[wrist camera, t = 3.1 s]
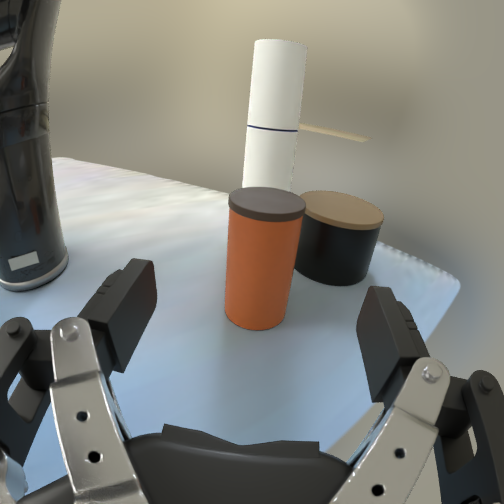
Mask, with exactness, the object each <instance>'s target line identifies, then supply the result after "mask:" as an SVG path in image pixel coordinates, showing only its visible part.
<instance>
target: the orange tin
mask: <svg viewBox="0 0 504 504" xmlns="http://www.w3.org/2000/svg"><path fill="white" fill-rule="evenodd" d="M228 204H229V207H230V209H229V226H228V245H227V266H226V288H225V313H226V315H227V317H228V318H229V319H230V320H231V321H232V322H233V323H234V324H236V325H238V326H240V327H242V328H245V329H250V330H266V329H270V328H273V327H275V326H276V325H278V324H279V323H280V322H281V321H282V320H283V318H284V316H285V312H286V307H287V302H288V297H289V291H290V286H291V281H292V276H293V270H294V265H295V259H296V254H297V248H298V242H299V237H300V231H301V225H302V219H303V215H304V214H305V210H306V203H305V201H304V200H303V199H302V198H301V197H300V196H298V195H296V194H293V193H291V192H288V191H285V190H281V189H277V188H270V187H246V188H241V189H238V190H235V191H233V192H232V193H230V195H229V201H228Z"/></svg>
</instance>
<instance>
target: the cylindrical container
mask: <svg viewBox="0 0 504 504" xmlns="http://www.w3.org/2000/svg"><path fill="white" fill-rule="evenodd" d="M306 56H307V46H305V45H303V44H301V43H297V42H292V41H287V40H278V39H261V40H257V41H255V48H254V57H253V68H252V79H251V90H250V102H249V112H248V124H249V125H247V136H246V149H245V160H244V173H243V186H242V188H246V187H270V188H277V189H281V190H285V191H288V192H290V190H291V183H292V176H293V168H294V160H295V153H296V144H297V137H298V128H299V120H300V112H301V111H300V110H301V103H302V94H303V85H304V75H305V66H306Z"/></svg>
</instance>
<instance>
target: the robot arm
mask: <svg viewBox="0 0 504 504" xmlns="http://www.w3.org/2000/svg"><path fill="white" fill-rule="evenodd" d="M60 4H61V0H0V51H1V50H4V49H7V48H11V47H14V48H13V50H12V53H11V54H10V56H9V58H8V59H7V60H6V61H5V62H4V64H3V65H2V66H1V67H0V285H1V286H2V287H4V288H5V289H8V290H12V291H24V290H29V289H33V288H36V287H39V286H41V285H43V284H45V283H47V282H49V281H51V280H52V279H54V278H55V277H56V276H57V275H59V274H60V273H61V272H62V271H63V269H64V268H65V267H66V265H67V262H68V253H67V249H66V246H65V243H64V238H63V234H62V229H61V223H60V217H59V211H58V206H57V199H56V192H55V185H54V177H53V169H52V159H51V147H50V132H49V103H47V102H49V80H50V68H51V56H52V46H53V40H54V33H55V28H56V23H57V18H58V14H59V9H60ZM156 304H157V289H156V281H155V272H154V264H153V262H152V261H150V260H143V259H135V258H133V259H131V260H130V262H129V263H128V264H127V265H126V267H125V268H124V269H123V270H120V269H119V270H117V271H116V272H114V273H112V274H111V275H109V276H108V277H107V278H106V280H105V281H104V282H103V283H102V286H100V287H99V289H98V290H97V291H96V293H95V294H94V295H93V296H92V298H91V299H90V300H89V301H88V303H87V304H86V305H85V307H84V308H83V309H82V311H81V312H80V313H79V315H78V316H77V317H70V318H66V319H63V320H61V321H59V322H58V323H57V324H56V325H55V326H54V327H53V328H52V330H34V329H33V327H32V325H31V323H30V321H29V320H28V319H27V318H24V317H16V318H12V319H10V320H8V321H7V322H5V323H4V324H3V325H2V327H1V328H0V504H404V503H405V502H406V500H407V498H408V496H409V495H410V493H411V491H412V489H413V487H414V485H415V483H416V481H417V479H418V478H419V475H420V473H421V471H422V469H423V467H424V465H425V463H426V461H427V458H428V456H429V454H430V452H431V450H432V447H434V453H435V458H436V464H437V470H438V477H439V485H440V493H441V502H442V504H504V395H503V392H502V390H501V387H500V385H499V383H498V381H497V380H496V378H495V377H494V376H493V375H492V374H490V373H489V372H487V371H483V370H477V371H475V372H474V373H473V374H472V375H471V376H470V378H469V379H468V380H466V379H461V378H457V377H452V376H450V374H449V371H448V369H447V368H446V367H445V365H444V364H443V363H441V362H440V361H438V360H437V359H434V358H431V357H430V355H429V353H428V351H427V348H426V346H425V344H424V341H423V339H422V337H421V335H420V332H419V330H417V329H418V328H417V326H416V324H415V322H414V319H413V317H412V315H411V313H410V311H409V310H408V309H407V308H406V306H405V305H404V304H403V303H402V302H401V301H396V298H395V296H394V294H393V292H392V290H391V288H389V287H379V286H370V287H369V289H368V291H367V294H366V297H365V299H364V302H363V305H362V308H361V311H360V313H359V316H358V319H357V325H356V332H357V337H358V341H359V345H360V349H361V353H362V358H363V362H364V367H365V371H366V376H367V380H368V385H369V390H370V395H371V400H372V403H374V402H383V403H384V407H385V408H384V409H383V410H382V412H381V413H380V415H379V417H378V418H377V420H376V421H375V423H374V425H373V426H372V428H371V429H370V431H369V432H368V434H367V435H366V437H365V438H364V440H363V441H362V443H361V444H360V446H359V447H358V449H357V450H356V451H355V452H354V454H353V455H352V456H351V457H350V459H349V460H348V461H347V462H344V461H342V460H341V459H339V458H337V457H335V456H333V455H330V454H327V453H324V452H320V451H319V442H311V441H284V440H281V441H274V442H267V443H260V444H252V445H237V444H234V443H231V442H228V441H225V440H223V439H220V438H217V437H215V436H212V435H210V434H207V433H205V432H202V431H198V430H193V429H187V428H182V427H177V426H173V425H168V424H164V426H163V430H162V433H151V434H145V435H140V436H137V437H134V438H132V436H131V434H130V432H129V430H128V428H127V425H126V423H125V421H124V418H123V415H122V413H121V410H120V407H119V405H118V402H117V399H116V396H115V393H114V390H113V387H112V384H111V381H110V379H109V377H110V375H111V373H112V371H117V372H120V373H124V371H125V369H126V367H127V365H128V363H129V361H130V359H131V357H132V354H133V352H134V350H135V348H136V346H137V344H138V342H139V340H140V338H141V336H142V334H143V332H144V330H145V328H146V326H147V324H148V322H149V320H150V318H151V316H152V314H153V312H154V310H155V308H156ZM18 372H19V374H20V375H21V379H20V381H19V383H18V384H17V386H16V388H15V390H14V392H13V393H12V395H11V397H10V399H9V401H8V398H7V393H8V389H9V387H10V386H11V384H12V382H13V380H14V379H15V377H16V375H17V374H18ZM50 402H51V403H52V409H53V415H54V420H55V425H56V430H57V435H58V439H59V443H60V448H61V452H62V456H63V459H64V463H65V467H66V470H67V473H68V474H67V475H65V476H63V477H62V478H60V479H58V480H56V481H54V482H52V483H50V484H48V485H46V486H44V487H42V488H40V489H38V490H36V491H34V492H32V493H30V494H28V495H26V496H25V493H26V492H27V490H28V484H27V482H26V478H25V473H24V470H23V465H24V463H25V460H26V457H27V455H28V452H29V450H30V447H31V445H32V443H33V440H34V438H35V435H36V433H37V431H38V428H39V426H40V424H41V422H42V419H43V417H44V415H45V413H46V411H47V409H48V406H49V404H50ZM471 426H472V427H473V431H474V434H475V438H476V442H477V452H476V455H475V456H474V454H473V450H472V446H471V441H470V437H469V434H468V429H469V428H470V427H471Z"/></svg>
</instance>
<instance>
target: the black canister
mask: <svg viewBox="0 0 504 504" xmlns="http://www.w3.org/2000/svg"><path fill="white" fill-rule="evenodd" d="M300 197H301V198H302V199H303V200H304V201H305V203H306V210H305V214H304V215H303V219H302V225H301V231H300V237H299V242H298V248H297V254H296V259H295V265H294V267H295V268H296V270H298V271H299V272H300V273H301V274H303V275H304V276H306V277H308V278H310V279H312V280H314V281H317V282H320V283H323V284H328V285H334V286H348V285H353V284H356V283H359V282H360V281H362V280H363V279H364V278H365V276H366V274H367V271H368V268H369V265H370V261H371V258H372V255H373V252H374V248H375V245H376V241H377V238H378V234H379V230H380V227H381V225H382V223H383V220H384V215H383V213H382V211H381V210H380V209H378V208H377V207H376V206H374V205H373V204H371V203H369V202H367V201H365V200H363V199H360V198H358V197H355V196H351V195H348V194H344V193H338V192H333V191H309V192H305V193H303V194H301V195H300Z"/></svg>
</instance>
